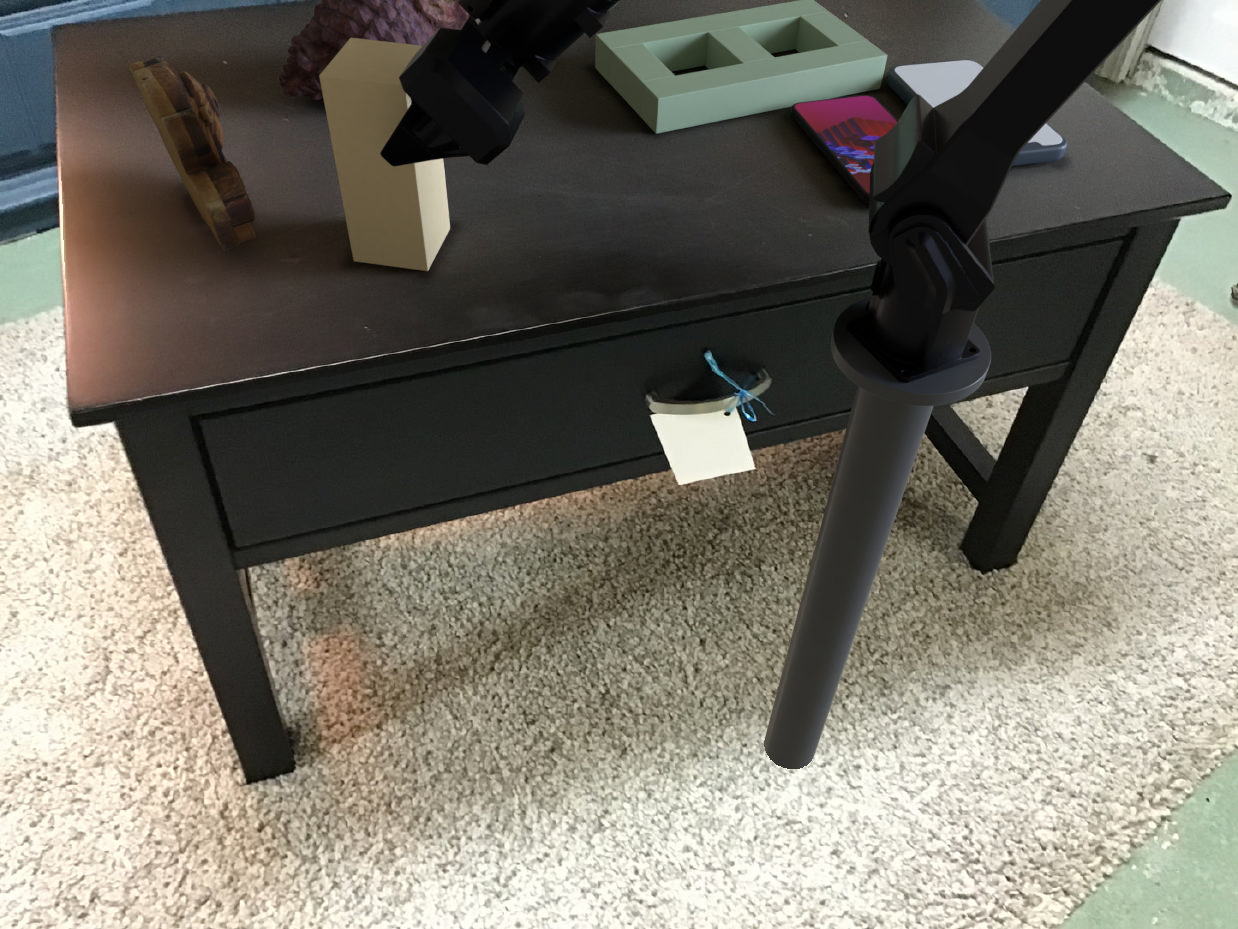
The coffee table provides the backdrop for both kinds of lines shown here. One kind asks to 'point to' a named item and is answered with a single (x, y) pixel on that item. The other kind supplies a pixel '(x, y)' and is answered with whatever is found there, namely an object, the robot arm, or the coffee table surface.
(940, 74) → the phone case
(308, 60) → the pine cone
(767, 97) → the block
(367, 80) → the cream rectangular block
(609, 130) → the coffee table surface
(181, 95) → the wooden carving
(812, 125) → the smartphone
